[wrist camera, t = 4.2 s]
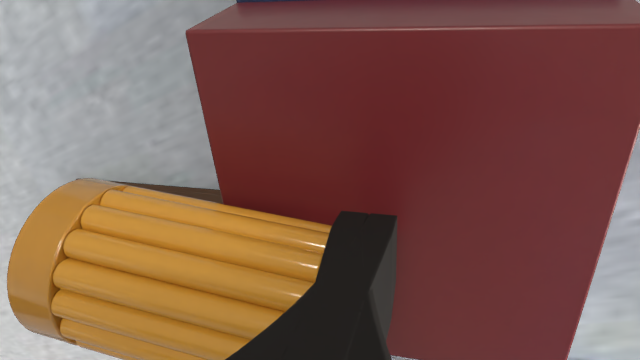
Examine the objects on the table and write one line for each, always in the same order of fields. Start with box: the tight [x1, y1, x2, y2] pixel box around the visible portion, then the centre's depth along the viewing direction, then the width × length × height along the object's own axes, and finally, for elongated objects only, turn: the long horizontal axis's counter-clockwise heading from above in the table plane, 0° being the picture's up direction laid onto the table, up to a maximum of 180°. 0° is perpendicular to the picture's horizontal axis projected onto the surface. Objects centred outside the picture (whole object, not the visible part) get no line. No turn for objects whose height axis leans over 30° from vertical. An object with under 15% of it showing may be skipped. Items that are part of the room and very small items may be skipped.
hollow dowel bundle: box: [7, 178, 332, 360], centre depth 12 cm, size 7×4×4 cm, turn 89°
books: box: [186, 0, 640, 360], centre depth 14 cm, size 11×10×6 cm
